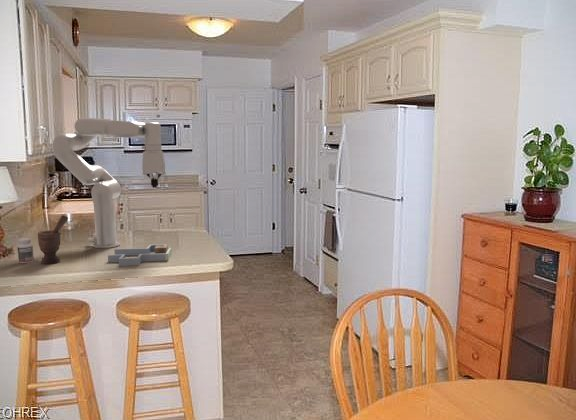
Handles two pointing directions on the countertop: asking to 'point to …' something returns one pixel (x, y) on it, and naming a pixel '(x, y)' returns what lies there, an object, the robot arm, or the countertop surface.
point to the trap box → (142, 253)
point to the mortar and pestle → (51, 242)
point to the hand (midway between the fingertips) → (154, 187)
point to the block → (161, 249)
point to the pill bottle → (25, 251)
